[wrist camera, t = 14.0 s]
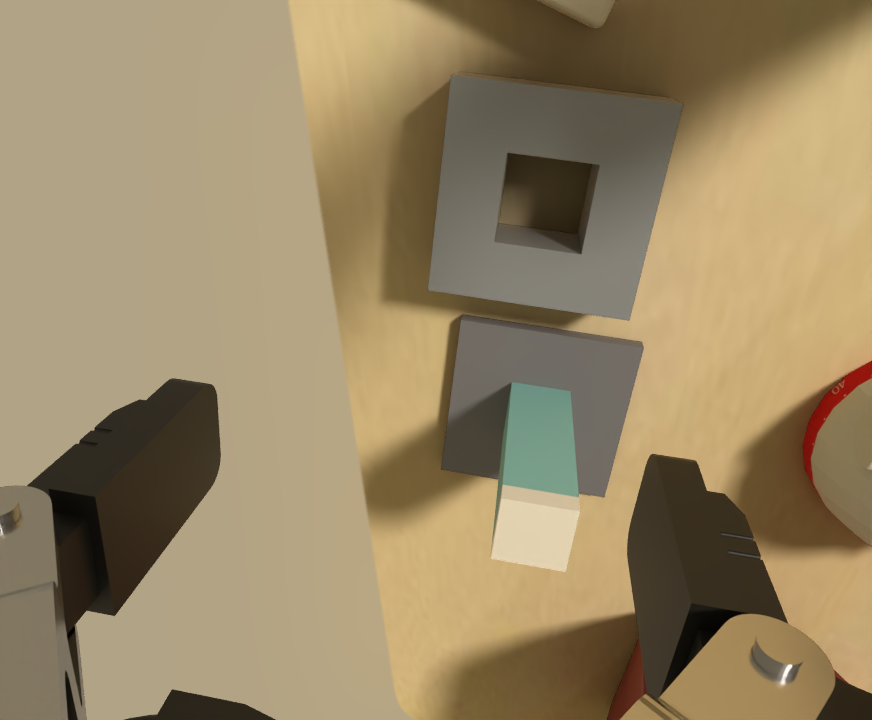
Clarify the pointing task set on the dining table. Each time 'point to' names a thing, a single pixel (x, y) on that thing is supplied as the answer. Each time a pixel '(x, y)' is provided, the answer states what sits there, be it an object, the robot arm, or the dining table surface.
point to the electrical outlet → (583, 10)
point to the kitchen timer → (844, 451)
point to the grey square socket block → (558, 139)
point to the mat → (546, 367)
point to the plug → (537, 480)
